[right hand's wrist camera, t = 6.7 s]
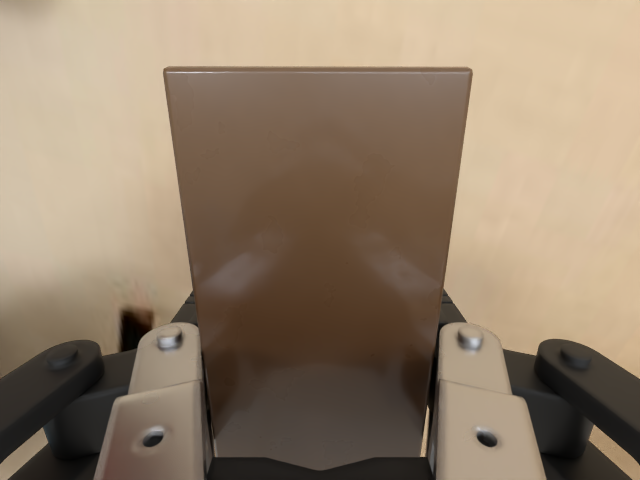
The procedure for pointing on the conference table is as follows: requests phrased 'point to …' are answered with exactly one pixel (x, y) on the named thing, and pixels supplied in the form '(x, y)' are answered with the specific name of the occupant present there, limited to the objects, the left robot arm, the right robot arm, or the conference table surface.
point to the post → (318, 250)
